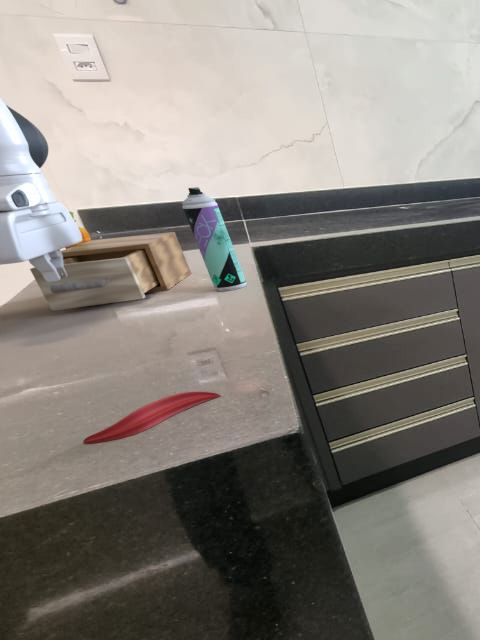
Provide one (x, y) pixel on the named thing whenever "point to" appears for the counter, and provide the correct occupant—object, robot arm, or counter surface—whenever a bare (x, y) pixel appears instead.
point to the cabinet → (158, 248)
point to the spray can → (213, 241)
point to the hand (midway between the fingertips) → (57, 279)
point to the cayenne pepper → (151, 415)
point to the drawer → (100, 279)
